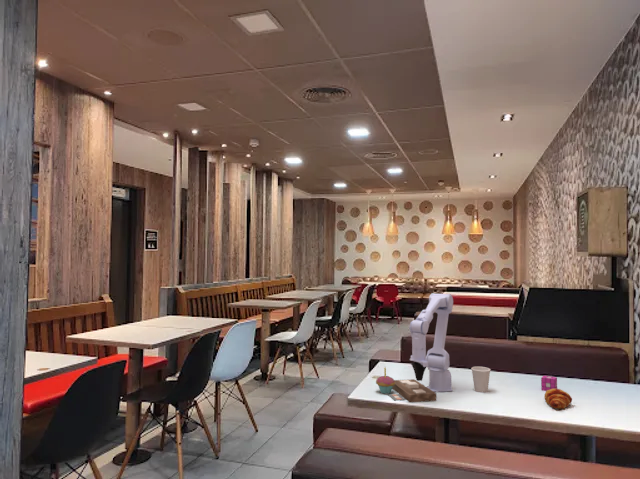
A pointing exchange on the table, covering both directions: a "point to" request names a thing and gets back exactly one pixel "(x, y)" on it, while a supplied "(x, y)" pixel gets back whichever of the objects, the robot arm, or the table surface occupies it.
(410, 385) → the button middle
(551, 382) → the puzzle toy
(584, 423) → the table surface
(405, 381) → the button
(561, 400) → the croissant
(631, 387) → the table surface
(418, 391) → the button
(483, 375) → the dixie cup
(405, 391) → the button board
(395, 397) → the pattern card
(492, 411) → the table surface
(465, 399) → the table surface
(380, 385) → the cupcake
